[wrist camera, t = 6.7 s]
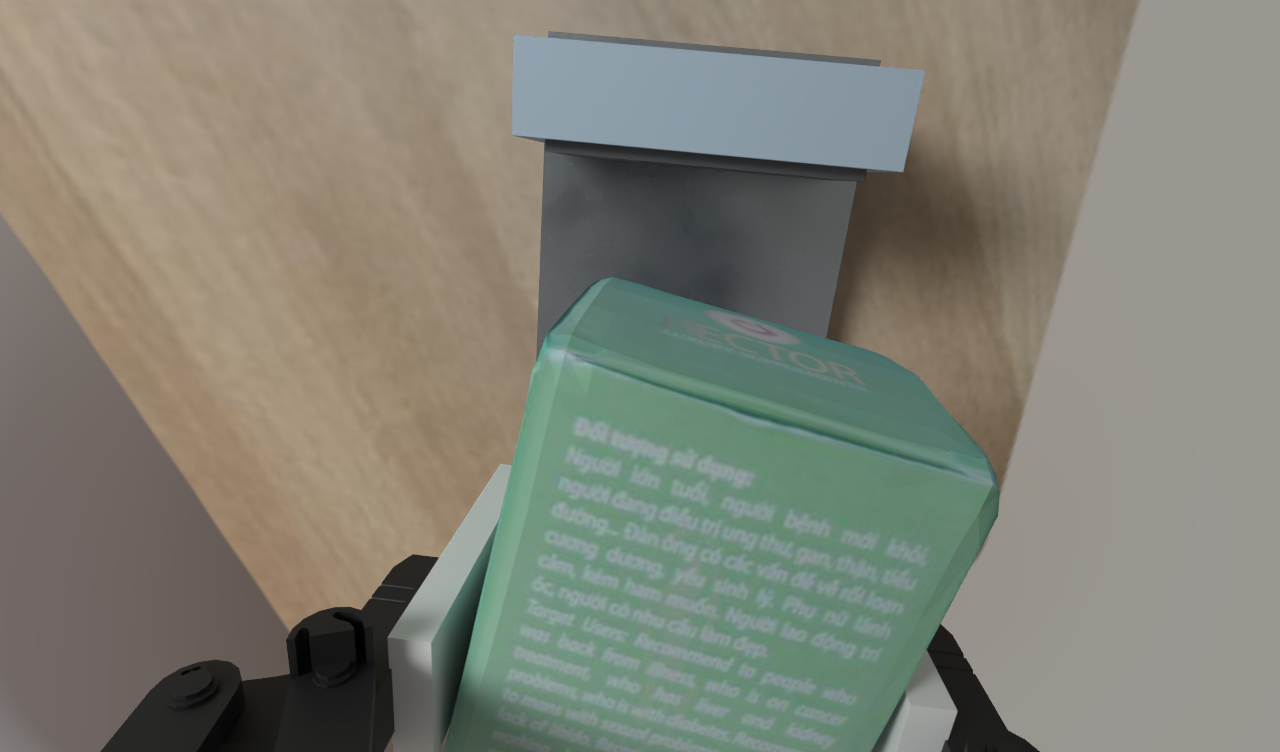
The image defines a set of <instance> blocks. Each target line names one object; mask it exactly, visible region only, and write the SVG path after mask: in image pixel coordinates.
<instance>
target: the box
mask: <svg viewBox="0 0 1280 752" xmlns="http://www.w3.org/2000/svg"><path fill="white" fill-rule="evenodd" d="M998 508H999V487H998V482H997V477H996V473H995V471H994V469H993V467H992V465H991V464H990V462H989V460H988V458H987V456H986V454H985V452H984V451H983V450H982V449H981V448H980V447H979V445H978V444H977V443H976V442H975V441H974V440H973V439H972V438H971V437H970V436H969V435H968V434H967V432H966V431H965V430H964V429H963V428H962V427H961V426H960V425H959V424H958V423H957V422H956V420H955V419H954V418H953V417H952V416H951V415H950V414H949V413H948V412H947V411H946V409H945V408H944V407H943V406H942V404H941V403H940V402H939V401H938V400H937V398H936V397H935V396H934V395H933V394H932V392H931V391H930V390H929V389H928V388H927V386H926V385H925V384H924V383H923V382H922V380H921V379H920V378H919V377H918V376H917V375H915V374H914V373H912V372H910V371H909V370H907V369H905V368H904V367H902V366H900V365H899V364H897V363H895V362H894V361H892V360H890V359H889V358H887V357H885V356H883V355H880V354H878V353H875V352H873V351H870V350H867V349H863V348H859V347H855V346H852V345H848V344H844V343H841V342H837V341H834V340H831V339H827V338H824V337H820V336H817V335H813V334H810V333H806V332H803V331H799V330H796V329H792V328H789V327H785V326H781V325H778V324H774V323H771V322H767V321H764V320H760V319H757V318H753V317H750V316H746V315H743V314H739V313H736V312H732V311H729V310H725V309H722V308H718V307H715V306H711V305H708V304H704V303H701V302H697V301H694V300H690V299H687V298H684V297H680V296H677V295H673V294H670V293H667V292H664V291H660V290H657V289H654V288H651V287H648V286H644V285H641V284H638V283H634V282H630V281H626V280H622V279H618V278H614V277H612V278H607V279H602V280H597V281H596V282H594V283H593V284H591V285H590V286H589V287H587V288H586V289H585V291H584V292H583V293H582V294H581V295H580V296H579V297H578V298H577V299H576V300H575V301H574V303H573V304H572V305H571V306H570V307H569V308H568V309H567V310H566V311H565V313H564V314H563V315H562V316H561V317H560V318H559V320H558V321H557V322H556V323H555V324H554V325H553V327H552V328H551V329H550V330H549V331H548V332H547V335H546V337H545V340H544V343H543V346H542V349H541V351H540V354H539V357H538V360H537V362H536V364H535V366H534V368H533V370H532V373H531V379H530V384H529V390H528V396H527V401H526V407H525V412H524V416H523V420H522V424H521V429H520V433H519V437H518V441H517V446H516V450H515V454H514V458H513V463H512V467H511V471H510V475H509V479H508V484H507V488H506V492H505V496H504V501H503V505H502V509H501V513H500V517H499V522H498V526H497V530H496V534H495V538H494V543H493V547H492V551H491V555H490V559H489V564H488V568H487V572H486V576H485V580H484V585H483V589H482V593H481V598H480V602H479V606H478V610H477V615H476V619H475V623H474V627H473V632H472V636H471V640H470V645H469V649H468V653H467V657H466V662H465V666H464V670H463V674H462V678H461V683H460V687H459V691H458V695H457V699H456V703H455V708H454V712H453V716H452V720H451V724H450V729H449V733H448V737H447V741H446V745H445V749H444V752H871V751H872V749H873V747H874V745H875V744H876V742H877V740H878V738H879V737H880V735H881V733H882V731H883V729H884V728H885V726H886V724H887V722H888V721H889V719H890V717H891V715H892V713H893V711H894V709H895V707H896V706H897V704H898V702H899V700H900V698H901V696H902V694H903V693H904V691H905V689H906V687H907V685H908V683H909V681H910V680H911V678H912V676H913V674H914V672H915V670H916V668H917V666H918V665H919V663H920V661H921V659H922V657H923V655H924V653H925V652H926V650H927V648H928V646H929V644H930V642H931V640H932V638H933V637H934V635H935V633H936V631H937V629H938V627H939V625H940V623H941V622H942V620H943V618H944V616H945V614H946V612H947V610H948V608H949V607H950V605H951V603H952V601H953V599H954V597H955V595H956V593H957V591H958V590H959V588H960V586H961V584H962V582H963V580H964V578H965V576H966V575H967V573H968V571H969V569H970V567H971V565H972V563H973V561H974V560H975V558H976V556H977V554H978V552H979V550H980V548H981V546H982V545H983V543H984V541H985V539H986V537H987V535H988V533H989V532H990V530H991V528H992V526H993V524H994V522H995V520H996V518H997V517H998Z"/></svg>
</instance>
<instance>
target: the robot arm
mask: <svg viewBox="0 0 1280 752" xmlns="http://www.w3.org/2000/svg"><path fill="white" fill-rule="evenodd" d="M511 467H512V465H505V464H500V465H499V467H498V468H497V470H496V471H495V473H494V474H493V476H492V477H491V479H490V480H489V482H488V483H487V485H486V487H485V488H484V490H483V491H482V493H481V494H480V496H479V497H478V499H477V500H476V502H475V503H474V505H473V507H472V508H471V510H470V511H469V513H468V514H467V516H466V517H465V519H464V520H463V522H462V523H461V525H460V527H459V528H458V530H457V531H456V533H455V534H454V536H453V537H452V539H451V540H450V542H449V543H448V545H447V547H446V548H445V550H444V551H443V553H442V554H441V556H440V557H439V558H438V557H430V556H421V555H411V556H410V557H408V558H407V559H405V560H404V561H402V562H401V563H399V564H398V565H396V566H395V567H393V569H392V570H391V571H390V573H389V574H388V575H387V577H386V578H385V579H384V581H383V582H382V585H381V586H379V587H378V589H377V590H376V591H375V593H374V594H373V595H372V598H371V599H369V601H368V602H367V603H366V605H365V606H364V607H363V609H362V610H359V609H355V608H352V607H334V608H330V609H326V610H322V611H319V612H317V613H315V614H313V615H311V616H309V617H307V618H305V619H303V620H302V621H301V622H300V623H299V624H297V625H296V626H295V627H294V628H293V629H292V630H291V632H290V634H289V636H288V638H287V640H286V642H287V651H288V658H289V668H290V674H287V675H282V676H277V677H269V678H262V679H255V680H247V681H242V679H241V675H240V671H239V668H238V667H236V666H235V665H233V664H232V663H231V662H227V661H221V660H211V661H203V662H198V663H195V664H192V665H189V666H187V667H184V668H181V669H179V670H177V671H176V672H174V673H172V674H170V675H169V676H167V677H165V678H163V679H162V680H161V681H160V682H159V683H158V684H157V685H156V686H155V687H154V688H153V689H152V690H150V692H149V693H148V694H147V695H146V697H145V698H144V699H143V700H142V701H141V703H140V704H139V705H138V707H137V708H136V709H135V710H134V711H133V713H132V714H131V715H130V716H129V717H128V719H127V720H126V721H125V722H124V723H123V725H122V726H121V727H120V728H119V730H118V731H117V732H116V733H115V735H114V736H113V737H112V738H111V739H110V741H109V742H108V743H107V744H106V746H105V747H104V748H103V749H102V751H101V752H384V750H385V748H386V746H387V744H388V742H389V741H390V738H391V737H392V735H393V751H394V752H438V751H439V749H440V747H441V744H442V742H443V740H444V738H445V735H446V733H447V731H448V728H449V726H450V724H451V720H452V716H453V712H454V708H455V703H456V699H457V695H458V691H459V687H460V683H461V678H462V674H463V670H464V666H465V662H466V657H467V653H468V649H469V645H470V640H471V636H472V632H473V627H474V623H475V619H476V615H477V610H478V606H479V602H480V598H481V593H482V589H483V585H484V580H485V576H486V572H487V568H488V564H489V559H490V555H491V551H492V547H493V543H494V538H495V534H496V530H497V526H498V522H499V517H500V513H501V509H502V505H503V501H504V496H505V492H506V488H507V484H508V479H509V475H510V471H511ZM871 752H1040V751H1038V750H1037V749H1036V748H1035V747H1033V746H1032V745H1031V744H1030V743H1029V742H1027V741H1026V740H1025V739H1023V738H1021V737H1019V736H1017V735H1015V734H1013V733H1012V732H1010V731H1008V730H1007V728H1006V726H1005V725H1004V723H1003V721H1002V719H1001V718H1000V716H999V714H998V713H997V711H996V709H995V707H994V706H993V704H992V702H991V701H990V699H989V697H988V695H987V694H986V692H985V690H984V689H983V687H982V685H981V683H980V682H979V680H978V679H977V677H976V675H975V674H973V670H972V668H971V666H970V664H969V663H968V661H967V660H966V658H964V656H963V652H962V651H961V649H960V647H959V646H958V644H957V642H956V640H955V639H954V637H953V635H952V634H950V632H948V631H947V630H946V629H945V628H944V627H943V626H942V625H941V624H940V625H939V627H938V629H937V631H936V633H935V635H934V637H933V638H932V640H931V642H930V644H929V646H928V648H927V650H926V652H925V653H924V655H923V657H922V659H921V661H920V663H919V665H918V666H917V668H916V670H915V672H914V674H913V676H912V678H911V680H910V681H909V683H908V685H907V687H906V689H905V691H904V693H903V694H902V696H901V698H900V700H899V702H898V704H897V706H896V707H895V709H894V711H893V713H892V715H891V717H890V719H889V721H888V722H887V724H886V726H885V728H884V729H883V731H882V733H881V735H880V737H879V738H878V740H877V742H876V744H875V745H874V747H873V749H872V751H871Z"/></svg>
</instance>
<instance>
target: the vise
mask: <svg viewBox="0 0 1280 752" xmlns="http://www.w3.org/2000/svg"><path fill="white" fill-rule="evenodd" d="M548 38H559V39H570V40H581V41H593V42H604V43H616V44H627V45H638V46H650V47H661V48H673V49H684V50H695V51H707V52H718V53H730V54H741V55H752V56H764V57H775V58H787V59H798V60H809V61H821V62H832V63H843V64H855V65H866V66H878V67H880V63H881V60H871V59H860V58H848V57H837V56H825V55H814V54H802V53H791V52H779V51H768V50H757V49H745V48H734V47H722V46H711V45H699V44H688V43H676V42H665V41H654V40H642V39H631V38H619V37H608V36H596V35H585V34H573V33H562V32H551V31H549V36H548ZM856 185H857V181H830V180H818V179H807V178H797V177H787V176H776V175H766V174H755V173H745V172H734V171H724V170H713V169H703V168H692V167H682V166H671V165H661V164H650V163H640V162H629V161H619V160H608V159H598V158H587V157H577V156H569V155H563V154H558V153H552V152H546V151H545V144H544V171H543V198H542V225H541V252H540V279H539V306H538V333H537V360H538V357H539V354H540V351H541V349H542V346H543V343H544V340H545V337H546V335H547V332H548V331H549V330H550V329H551V328H552V327H553V325H554V324H555V323H556V322H557V321H558V320H559V318H560V317H561V316H562V315H563V314H564V313H565V311H566V310H567V309H568V308H569V307H570V306H571V305H572V304H573V303H574V301H575V300H576V299H577V298H578V297H579V296H580V295H581V294H582V293H583V292H584V291H585V289H586V288H587V287H589V286H590V285H591V284H593V283H594V282H596V281H597V280H602V279H607V278H612V277H614V278H618V279H622V280H626V281H630V282H634V283H638V284H641V285H644V286H648V287H651V288H654V289H657V290H660V291H664V292H667V293H670V294H673V295H677V296H680V297H684V298H687V299H690V300H694V301H697V302H701V303H704V304H708V305H711V306H715V307H718V308H722V309H725V310H729V311H732V312H736V313H739V314H743V315H746V316H750V317H753V318H757V319H760V320H764V321H767V322H771V323H774V324H778V325H781V326H785V327H789V328H792V329H796V330H799V331H803V332H806V333H810V334H813V335H817V336H820V337H824V338H826V337H827V332H828V327H829V322H830V316H831V311H832V306H833V301H834V296H835V291H836V286H837V281H838V276H839V271H840V266H841V261H842V256H843V250H844V245H845V240H846V235H847V230H848V225H849V220H850V215H851V210H852V205H853V200H854V195H855V190H856ZM537 360H536V362H537Z"/></svg>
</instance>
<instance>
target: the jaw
mask: <svg viewBox="0 0 1280 752" xmlns="http://www.w3.org/2000/svg"><path fill="white" fill-rule="evenodd" d="M924 75H925V71H923V70H912V69H900V68H889V67H878V66H866V65H855V64H843V63H832V62H821V61H809V60H798V59H787V58H775V57H764V56H752V55H741V54H730V53H718V52H707V51H695V50H684V49H673V48H661V47H650V46H638V45H627V44H616V43H604V42H593V41H581V40H570V39H559V38H547V37H536V36H525V35H514V47H513V96H512V135H513V136H518V137H522V138H526V139H531V140H535V141H539V142H544V143H545V151H546V152H552V153H558V154H563V155H569V156H577V157H587V158H598V159H608V160H619V161H629V162H640V163H650V164H661V165H671V166H682V167H692V168H703V169H713V170H724V171H734V172H745V173H755V174H766V175H776V176H787V177H797V178H807V179H818V180H830V181H858V182H865V177H866V173H874V172H903V170H904V166H905V161H906V157H907V152H908V147H909V143H910V138H911V134H912V129H913V125H914V120H915V116H916V111H917V106H918V102H919V97H920V93H921V88H922V84H923V79H924Z"/></svg>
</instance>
